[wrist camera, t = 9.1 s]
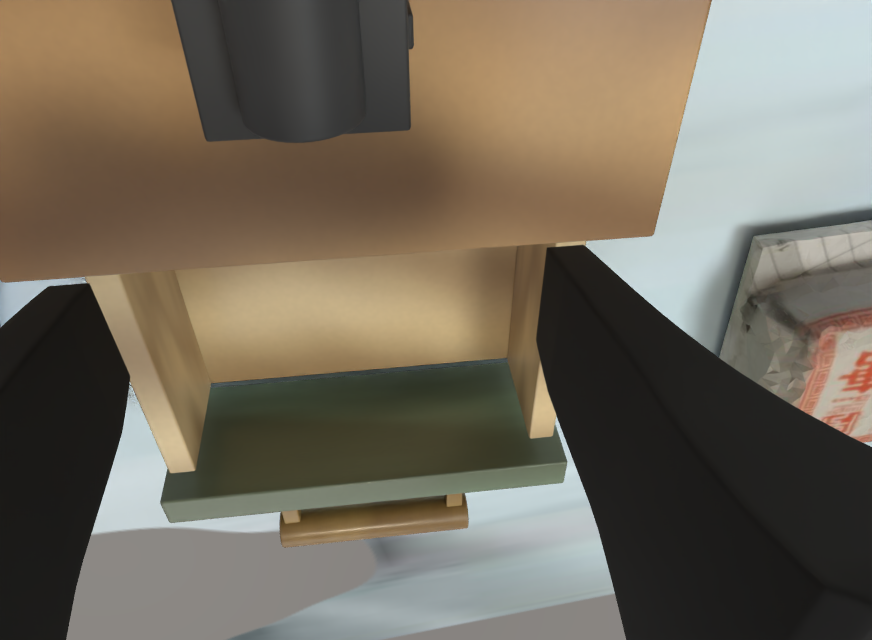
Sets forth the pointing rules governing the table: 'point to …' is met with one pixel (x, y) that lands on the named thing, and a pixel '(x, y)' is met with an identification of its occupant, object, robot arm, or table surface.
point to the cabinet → (337, 140)
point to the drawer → (341, 387)
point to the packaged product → (809, 322)
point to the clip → (297, 67)
